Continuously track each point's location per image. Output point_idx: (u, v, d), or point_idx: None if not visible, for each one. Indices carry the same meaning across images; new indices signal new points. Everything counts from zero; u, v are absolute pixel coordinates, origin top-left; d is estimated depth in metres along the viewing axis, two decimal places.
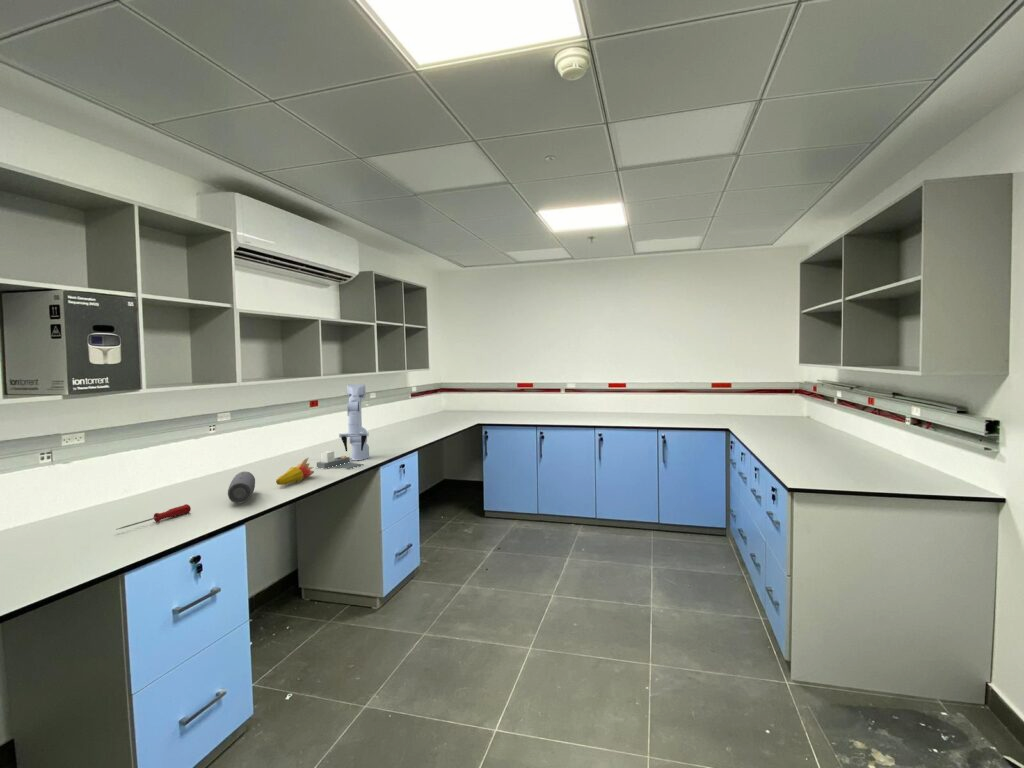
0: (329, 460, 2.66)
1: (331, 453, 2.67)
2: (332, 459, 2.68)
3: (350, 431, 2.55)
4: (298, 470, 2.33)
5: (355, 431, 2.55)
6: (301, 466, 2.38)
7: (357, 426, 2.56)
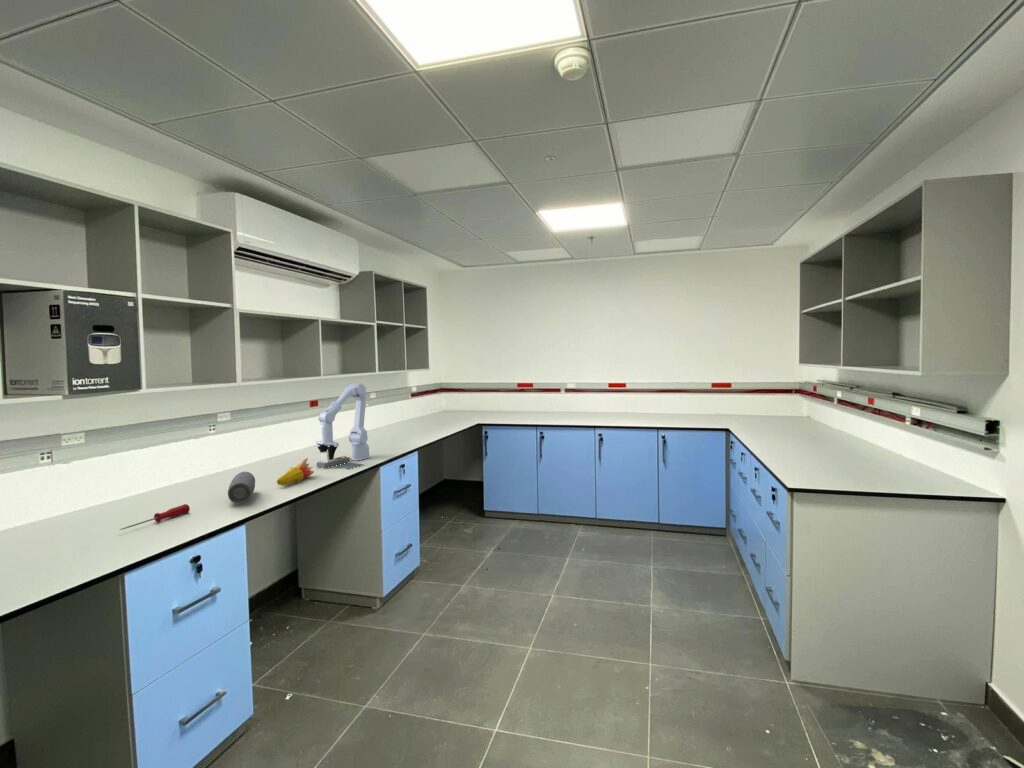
0: (329, 460, 2.66)
1: None
2: (332, 459, 2.68)
3: None
4: (299, 471, 2.33)
5: (324, 441, 2.65)
6: (301, 466, 2.38)
7: (326, 436, 2.65)
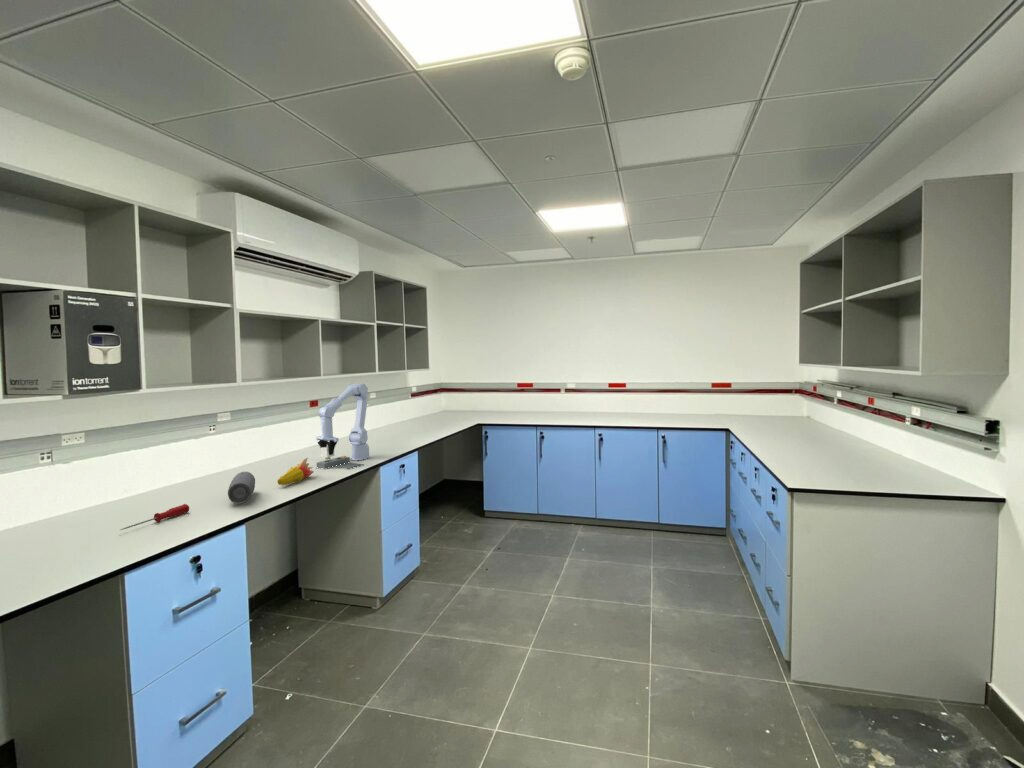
0: (329, 455, 2.66)
1: None
2: (332, 454, 2.68)
3: (321, 436, 2.66)
4: (299, 470, 2.33)
5: (324, 436, 2.64)
6: (301, 466, 2.38)
7: (326, 431, 2.64)
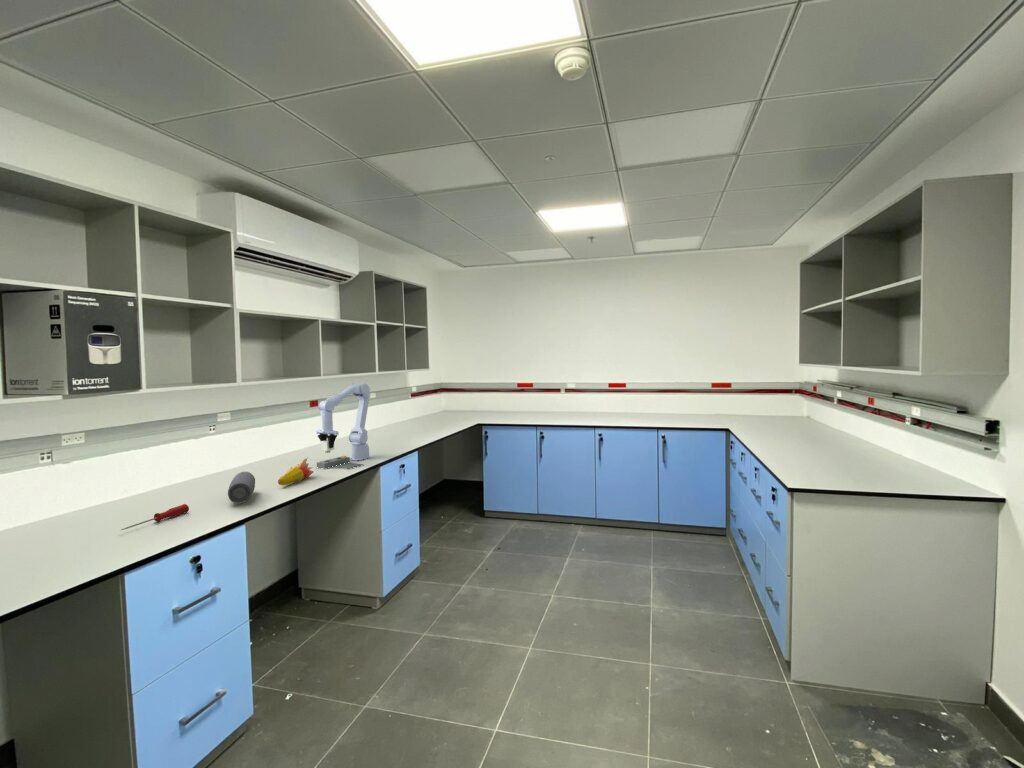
0: (329, 449, 2.66)
1: None
2: (332, 448, 2.68)
3: None
4: (299, 470, 2.33)
5: (324, 430, 2.64)
6: (301, 466, 2.38)
7: (326, 425, 2.64)
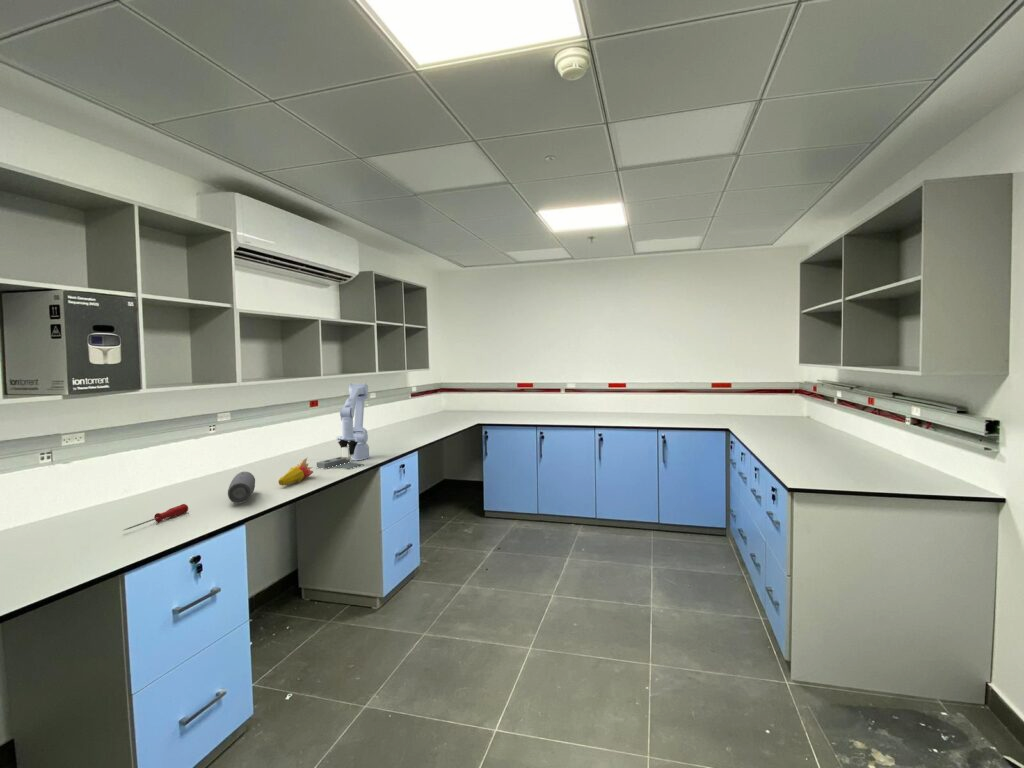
0: (350, 455, 2.66)
1: None
2: (352, 454, 2.68)
3: (342, 436, 2.66)
4: (299, 471, 2.33)
5: (345, 436, 2.64)
6: (301, 466, 2.38)
7: (347, 431, 2.64)
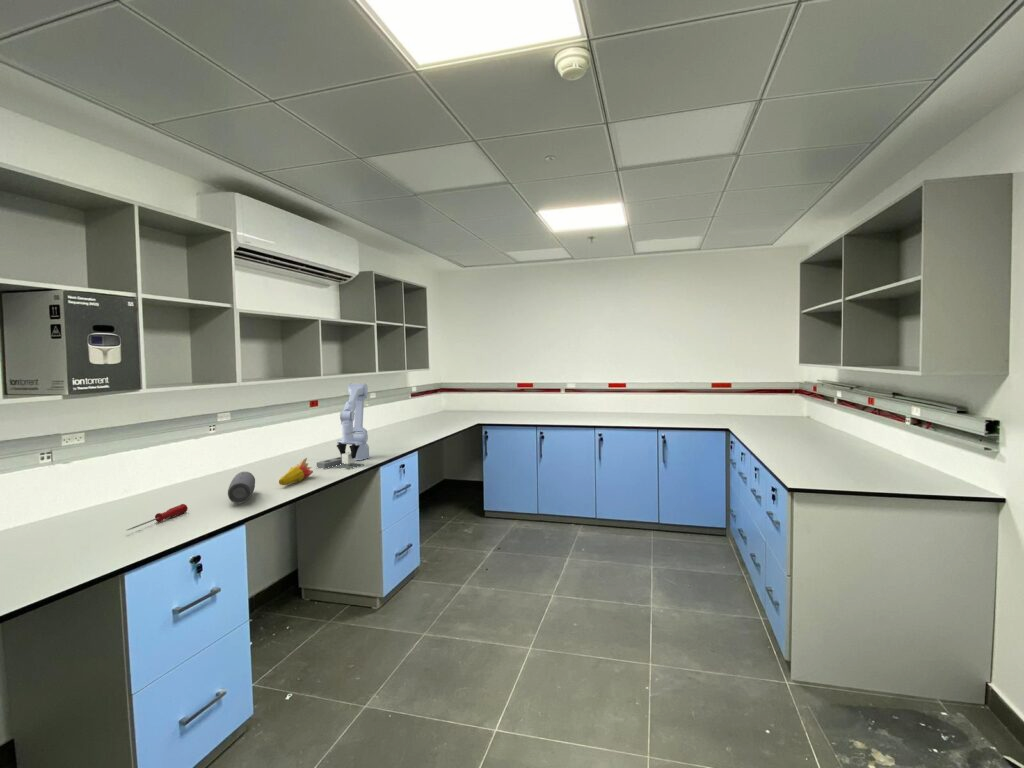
0: (350, 461, 2.66)
1: None
2: (353, 460, 2.68)
3: (342, 439, 2.66)
4: (299, 470, 2.33)
5: (345, 440, 2.65)
6: (301, 466, 2.38)
7: (347, 435, 2.65)
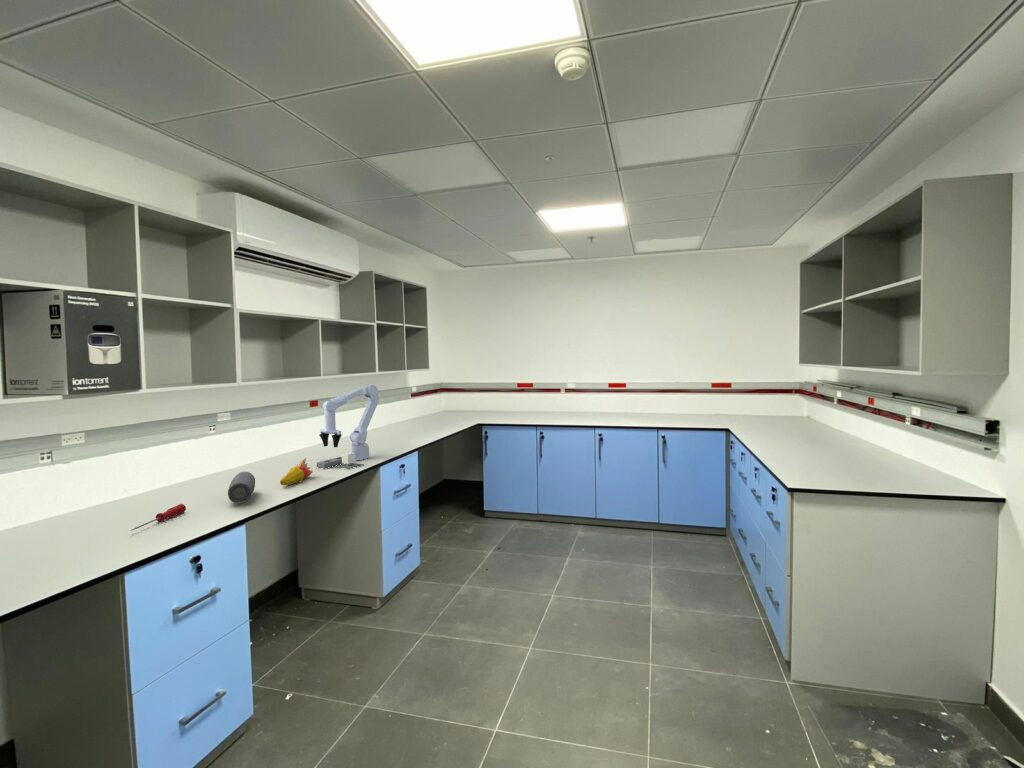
0: (350, 461, 2.66)
1: (352, 454, 2.67)
2: (353, 460, 2.68)
3: (325, 429, 2.74)
4: (300, 471, 2.33)
5: (327, 429, 2.73)
6: (301, 466, 2.38)
7: (329, 425, 2.73)
